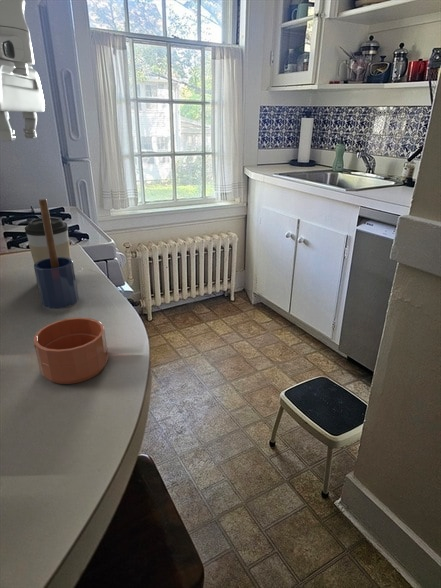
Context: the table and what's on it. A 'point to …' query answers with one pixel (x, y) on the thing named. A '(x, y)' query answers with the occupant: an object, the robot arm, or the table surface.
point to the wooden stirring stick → (48, 233)
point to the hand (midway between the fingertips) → (20, 139)
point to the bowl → (71, 350)
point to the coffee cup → (39, 239)
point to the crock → (56, 283)
